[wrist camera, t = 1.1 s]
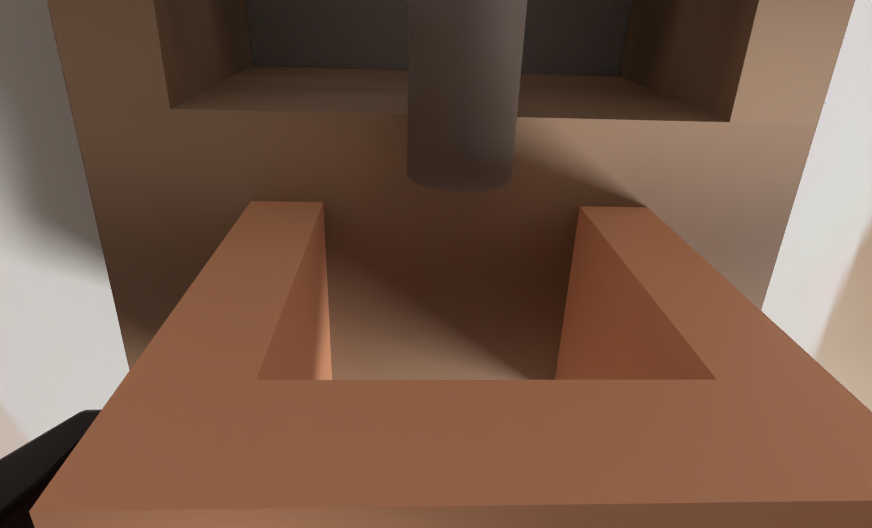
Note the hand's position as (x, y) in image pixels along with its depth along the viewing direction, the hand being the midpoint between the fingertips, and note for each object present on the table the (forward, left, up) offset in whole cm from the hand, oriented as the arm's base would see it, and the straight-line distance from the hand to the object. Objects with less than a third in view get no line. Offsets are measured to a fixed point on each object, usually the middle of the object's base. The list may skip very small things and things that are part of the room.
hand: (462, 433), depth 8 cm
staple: (0, 0, -3) cm, 3 cm away
